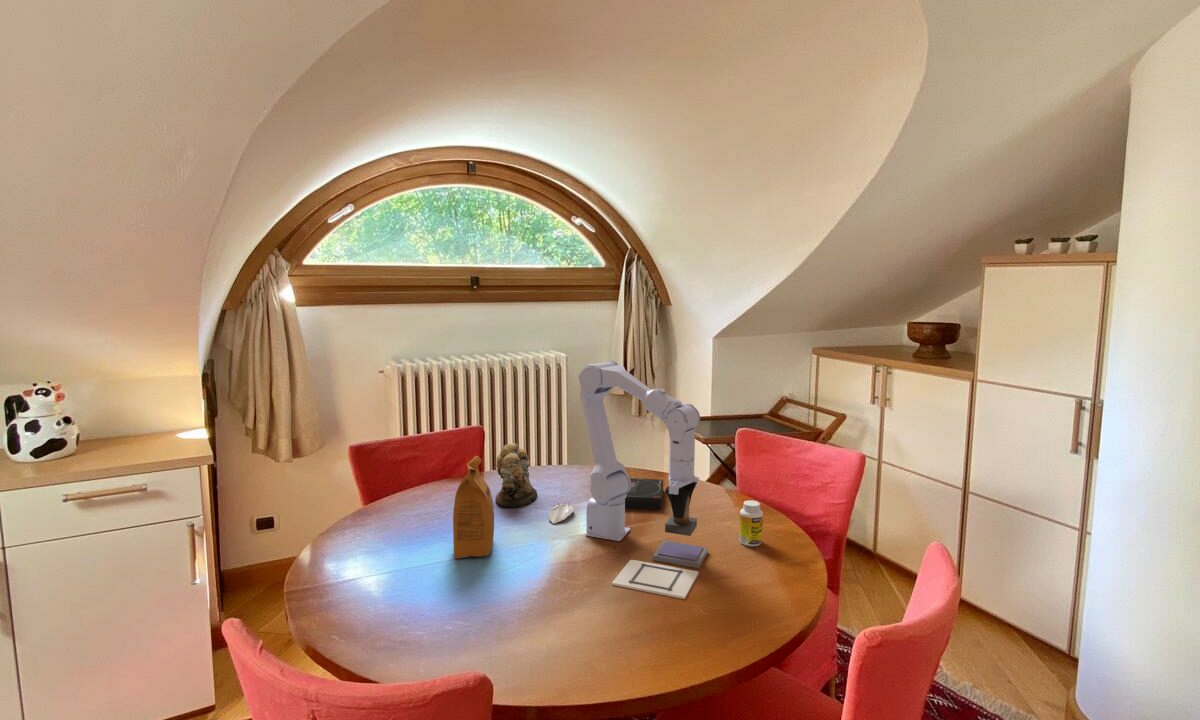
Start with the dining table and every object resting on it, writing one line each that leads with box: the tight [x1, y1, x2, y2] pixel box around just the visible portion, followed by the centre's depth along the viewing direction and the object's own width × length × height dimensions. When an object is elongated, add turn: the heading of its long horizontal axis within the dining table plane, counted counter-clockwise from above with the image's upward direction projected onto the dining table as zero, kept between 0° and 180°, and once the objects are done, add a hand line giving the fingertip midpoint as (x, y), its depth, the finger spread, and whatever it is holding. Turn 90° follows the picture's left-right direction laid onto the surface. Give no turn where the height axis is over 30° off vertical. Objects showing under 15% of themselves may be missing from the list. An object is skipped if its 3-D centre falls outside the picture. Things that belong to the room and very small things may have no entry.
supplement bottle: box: [738, 500, 764, 547], centre depth 157 cm, size 6×6×10 cm
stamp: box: [664, 496, 698, 537], centre depth 148 cm, size 6×6×8 cm
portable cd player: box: [625, 477, 664, 511], centre depth 188 cm, size 16×17×4 cm
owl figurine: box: [495, 442, 538, 509], centre depth 187 cm, size 18×12×17 cm, turn 176°
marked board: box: [611, 559, 699, 600], centre depth 139 cm, size 16×12×1 cm
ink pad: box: [652, 539, 709, 569], centre depth 150 cm, size 11×9×2 cm
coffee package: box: [452, 455, 495, 560], centre depth 152 cm, size 10×12×22 cm
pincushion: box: [548, 503, 575, 524], centre depth 174 cm, size 12×6×6 cm, turn 164°
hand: (680, 514), depth 148 cm, fingers closed on stamp, 4 cm apart
